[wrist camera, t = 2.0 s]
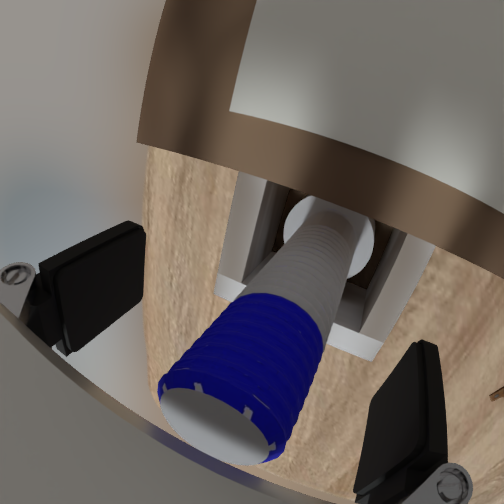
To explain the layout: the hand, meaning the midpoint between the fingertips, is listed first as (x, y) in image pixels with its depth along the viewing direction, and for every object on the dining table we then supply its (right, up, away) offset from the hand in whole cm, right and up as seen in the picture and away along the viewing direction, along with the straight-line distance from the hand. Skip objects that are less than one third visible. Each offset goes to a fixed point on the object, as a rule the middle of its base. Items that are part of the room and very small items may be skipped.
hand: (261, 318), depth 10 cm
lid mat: (+5, +9, -3) cm, 11 cm away
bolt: (+5, +4, +10) cm, 12 cm away
